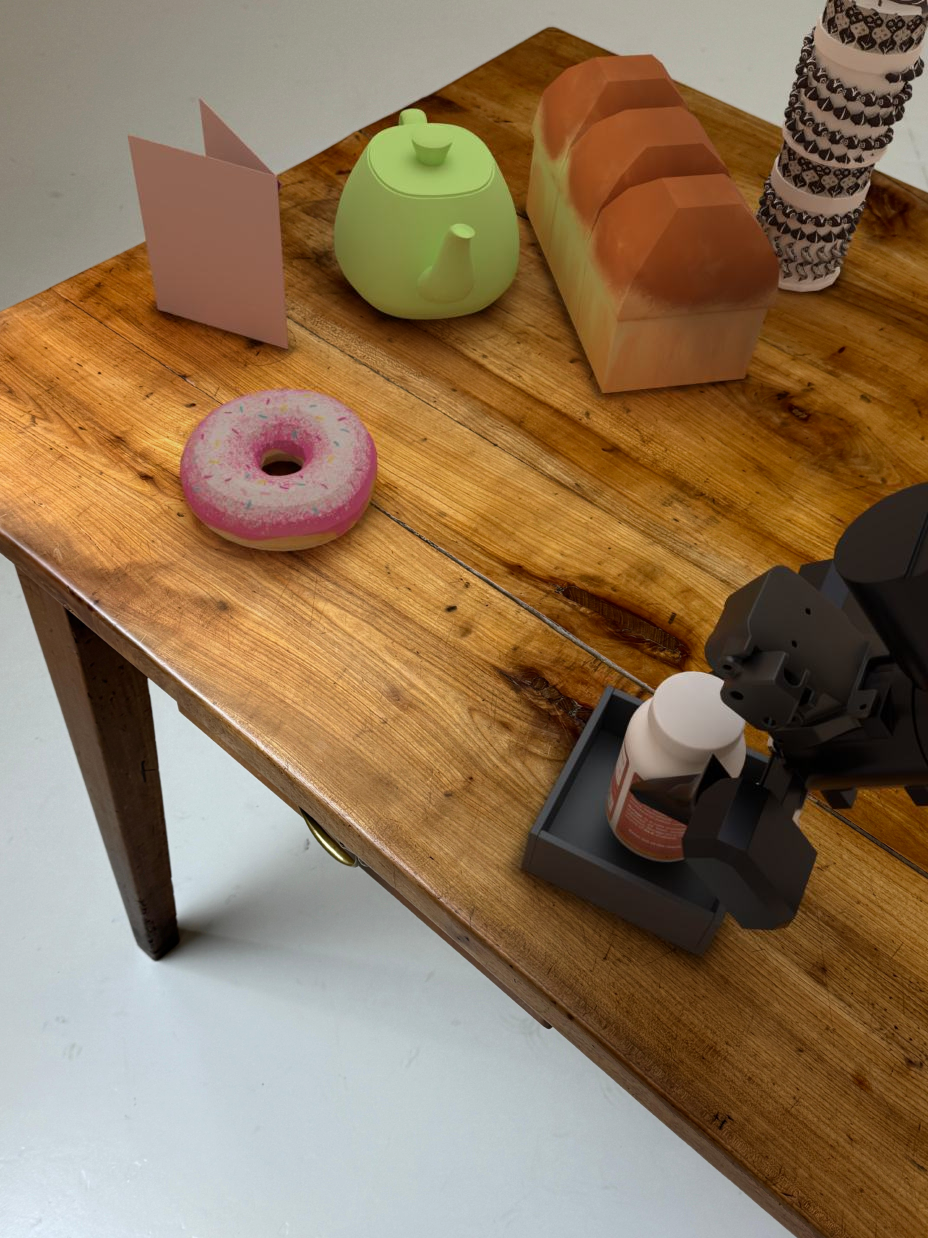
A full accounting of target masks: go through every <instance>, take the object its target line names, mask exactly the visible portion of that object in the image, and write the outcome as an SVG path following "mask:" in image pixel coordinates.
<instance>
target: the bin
mask: <svg viewBox="0 0 928 1238" xmlns="http://www.w3.org/2000/svg"><path fill="white" fill-rule="evenodd" d="M644 702H646V701H645V700H643V699H641V698H639V697H637V696H634V695H632V694H630V693H627V692H626V691H623V690H621V689H618V688H616V687H614V686H612V685H610V684H606V686H605V688H604V690H603V692H602V693H601V696H600V697H599V699H598V702H597V703H596V705H595V707H594V708H593V711H592V712H591V715H590V717H589V719H588V720H587V722H586V724H585V726H584V728H583V730H582V731H581V733H580V736H579V737H578V739H577V740H576V743H575V744H574V747H573V749H572V751H571V753H570V755H569V756H568V758H567V760H566V762H565V764H564V766H563V768H562V769H561V771H560V774H559V775H558V777H557V779H556V781H555V784H554V785H553V787H552V788H551V790H550V792H549V794H548V795H547V798H546V800H545V802H544V804H543V806H542V807H541V809H540V811H539V813H538V815H537V817H536V819H535V821H534V823H533V824H532V827H531V828H530V830H529V832H528V836H527V841H526V845H525V848H524V853H523V856H522V861H521V865H520V869H522V870H523V871H526V872H528V873H530V874H532V875H534V876H536V877H538V878H540V879H541V880H544V881H546V882H548V883H550V884H552V885H554V886H556V887H558V888H560V889H562V890H564V891H566V892H569V893H570V894H572V895H574V896H576V897H578V898H581V899H582V900H584V901H586V902H588V903H590V904H592V905H594V906H597V907H599V908H601V909H603V910H605V911H606V912H609V913H611V914H613V915H614V916H617V917H618V918H621V919H623V920H625V921H627V922H629V923H630V924H632V925H635V926H637V927H638V928H641V929H643V930H645V931H647V932H649V933H652V934H653V935H654V936H657V937H659V938H661V939H663V940H665V941H667V942H669V943H671V944H674V945H676V946H677V947H680V948H681V949H683V950H686V951H687V952H690V953H692V954H694V955H696V956H698V957H700V958H702V957H703V955H704V954H705V952H706V950H707V949H708V947H709V945H710V944H711V942H712V941H713V939H714V938H715V936H716V935H717V933H718V931H719V929H720V928H721V926H722V924H723V921H724V920H725V916H726V914H727V912H728V911H727V910H726V909H725V907H724V906H723V905H722V904H721V903H720V901H719V900H718V899H717V898H716V897H715V895H714V894H713V893H712V892H711V891H710V889H709V888H708V887H707V886H706V884H705V883H704V882H703V881H702V880H701V878H700V877H699V876H698V875H697V874H696V872H695V871H694V870H693V869H692V868H691V866H690V865H689V864H688V863H687V861H686V860H685V859H683V860H679V861H675V862H659V861H654V860H650V859H647V858H644V857H642V856H639V855H638V854H636V853H634V852H632V851H631V850H630V849H628V848H627V847H626V846H625V845H623V844H622V843H621V842H620V841H619V839H618V838H617V837H616V836H615V834H614V833H613V831H612V829H611V827H610V825H609V822H608V819H607V814H606V800H607V795H608V791H609V788H610V785H611V781H612V778H613V775H614V771H615V768H616V764H617V761H618V758H619V755H620V751H621V748H622V745H623V741H624V738H625V734H626V731H627V728H628V725H629V722H630V720H631V718H632V716H633V715H634V713H635V712H636V710H637V709H638V708H639V707H640V706H641V705H642V704H643V703H644ZM769 758H770V756H768V755H766V754H764V753H761V752H759V751H757V750H755V749H752V748H750V747H748V746H746V756H745V761H744V765H743V767H742V770H741V772H740V774H739V777H743V778H745V779H747V780H750V781H752V782H754V783H759V782H760V780H761V777H762V775H763V773H764V770H765V768H766V765H767V763H768V760H769Z"/></svg>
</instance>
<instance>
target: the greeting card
mask: <svg viewBox="0 0 928 1238" xmlns="http://www.w3.org/2000/svg"><path fill="white" fill-rule="evenodd" d="M198 101H199V110H200V111H199V112H200V119H201V127H202V128H201V129H202V136H203V143H204V144H203V145H204V152H205V155H203V154H199V153H195V152H193V151H189V150H185V149H182V148H178V147H174V146H171V145H167V144H164V143H160V142H157V141H153V140H150V139H146V138H143V137H139V136H135V135H131V134H127V139H128V144H129V145H128V146H129V151H130V157H131V163H132V169H133V174H134V180H135V186H136V192H137V198H138V203H139V209H140V214H141V221H142V226H143V233H144V238H145V243H146V249H147V250H146V251H147V256H148V261H149V267H150V273H151V277H152V278H151V279H152V283H153V290H154V295H155V301H156V307H157V310H159V311H162V312H165V313H168V314H172V315H175V316H178V317H182V318H185V319H187V320H191V321H194V322H198V323H201V324H204V325H208V326H211V327H214V328H217V329H220V330H224V331H227V332H231V333H234V334H238V335H240V336H243V337H247V338H249V339H253V340H256V341H260V342H264V343H266V344H269V345H273V346H276V347H280V348H283V349H286V350H289V333H288V320H287V305H286V290H285V289H286V288H285V274H284V261H283V260H284V259H283V244H282V243H283V242H282V228H281V215H280V200H279V198H280V197H279V193H280V189H281V186H282V183H281V182H280V181H279V180H278V175H277V174H275V172H274V171H273V170H272V169H271V168H270V167H269V166H268V165H267V164H266V163H265V162H264V161H263V160H262V159H261V158H260V157H259V156H258V155H257V154H256V153H255V152H254V151H253V150H252V149H251V148H250V146H248V145H247V144H246V143H245V141H243V140H242V139H241V138H240V137H239V136H238V135H237V133H235V132H234V130H232V128H231V127H230V126H229V125H227V124H226V122H225V121H224V120H223V119H221V117H220V116H219V115H218V114H217V113H216V112H215V111H214V110H213V109H212V108H211V107H210V106H209V105H208V104H207V103H206V102H205V101H204V100H203V98H201V97H200V96H198Z"/></svg>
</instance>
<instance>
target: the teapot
mask: <svg viewBox="0 0 928 1238" xmlns="http://www.w3.org/2000/svg"><path fill="white" fill-rule="evenodd" d="M334 222H335V223H334V229H333V249H334V254H335V258H336V261H337V263H338V266H339V268H340V271H341V272H342V274H343V275H344V277H345V279H346V280H347V281H348V283H349V284H350V285H351V286H352V287H353V289H354V290H355V291H356V292H357V293H358V294H359V295H360V296H361V298H362V299H364V300H365V301H366V302H367V303H369V304H370V306H372V307H374V308H375V309H376V310H378V311H380V312H382V313H384V314H387V315H389V316H392V317H396V318H401V319H409V320H440V319H449V318H456V317H462V316H467V315H471V314H474V313H477V312H480V311H482V310H484V309H485V308H487V307H488V306H490V305H491V304H493V303H494V302H495V301H496V300H498V299H499V298H500V297H501V296H502V295H503V294H504V293H505V292H507V290H508V289H509V288H510V286H511V285H512V283H513V281H514V279H515V277H516V274H517V272H518V267H519V263H520V261H519V260H520V249H521V243H520V231H519V230H520V229H519V223H518V222H519V221H518V216H517V211H516V208H515V203H514V201H513V197H512V195H511V192H510V189H509V186H508V184H507V183H506V180H505V178H504V176H503V173H502V171H501V169H500V167H499V164H498V163H497V161H496V159H495V157H494V156H493V154H492V153H491V150H489V148H488V146H487V145H486V144H485V142H484V141H482V139H481V138H479V136H477V135H476V134H475V133H473V132H471V130H468V129H466V128H464V127H461V126H459V125H455V124H450V123H437V122H436V123H434V122H428V119H427V115H426V113H425V112H424V111H423V110H421V109H418V108H408V109H404V110H402V111H401V112H400V114H399V117H398V125H395V126H392V127H388V128H386V129H383V130H381V131H379V132H378V133H377V134H375V135H374V136H372V138H371V140H370V141H369V142H368V143H367V145H366V146H365V148H364V150H363V151H362V153H361V154H360V156H359V158H358V160H357V162H356V163H355V165H354V166H353V168H352V170H351V172H350V174H349V176H348V178H347V180H346V182H345V184H344V187H343V190H342V192H341V196H340V198H339V201H338V207H337V211H336V215H335V221H334Z"/></svg>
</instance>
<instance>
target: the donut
mask: <svg viewBox="0 0 928 1238" xmlns="http://www.w3.org/2000/svg"><path fill="white" fill-rule="evenodd" d="M179 462H180V463H179V478H180V482H181V483H180V484H181V486H182V487H181V488H182V491H183V495H184V499H185V501H186V503H187V505H188V506H189V509H190V510H191V512H192V513H193V514H194V515H195V516H196V517H197V519H199V520H200V521H201V522H202V523H203V524H204V525H205V526H206V527H207V528H208V529H210V530H211V531H212V532H213V533H215V534H217V535H219V537H222V538H224V540H227V541H229V542H232V543H234V544H238V545H239V546H243V547H247V548H251V549H256V550H261V551H271V552H290V551H291V552H292V551H300V550H307V549H311V548H315V547H318V546H322V545H325V544H327V543H329V542H332V541H334V540H336V539H338V538H340V537H342V536H343V535H344V534H345V533H347V532H348V531H349V530H351V529H352V528H353V527H354V526H355V525H356V524H357V523H358V521H359V520H360V519H361V517H362V516H363V515H364V513H365V511H366V510H367V509H368V507H369V505H370V502H371V501H372V497H373V495H374V494H375V493H374V492H375V488H376V484H377V480H378V451H377V448H376V445H375V441H374V439H373V437H372V435H371V433H370V432H369V430H368V428H367V427H366V426H365V424H364V423H363V422H362V420H361V418H360V417H359V416H358V415H357V414H356V413H355V412H354V411H353V410H352V409H351V408H350V407H349V406H348V405H346V404H344V403H343V402H341V401H340V400H338V399H337V398H334V397H331V396H329V395H327V394H324V393H322V392H317V391H312V390H308V389H304V388H303V389H301V388H300V389H299V388H277V389H266V390H264V389H263V390H260V391H256V392H252V393H248V394H244V395H242V396H239V397H237V398H233V399H231V400H229V401H226V402H225V403H223V404H221V405H220V406H218V407H216V408H214V409H213V410H212V411H210V412H209V413H208V414H207V415H206V416H205V417H204V418H202V420H201V421H199V423H198V424H197V425H196V427H194V430H193V431H192V433H191V434H190V436H189V437H188V440H187V441H186V444H185V446H184V449H183V452H182V454H181V456H180V461H179ZM277 462H290V463H295V464H297V465H298V466H300V467H301V469H300V470H299V471H296V472H294V473H290V474H287V475H286V474H285V475H269V474H268V473H266V472H265V471H264V470H263V468H264V467H265V466H268V465H270V464H272V463H277Z"/></svg>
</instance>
